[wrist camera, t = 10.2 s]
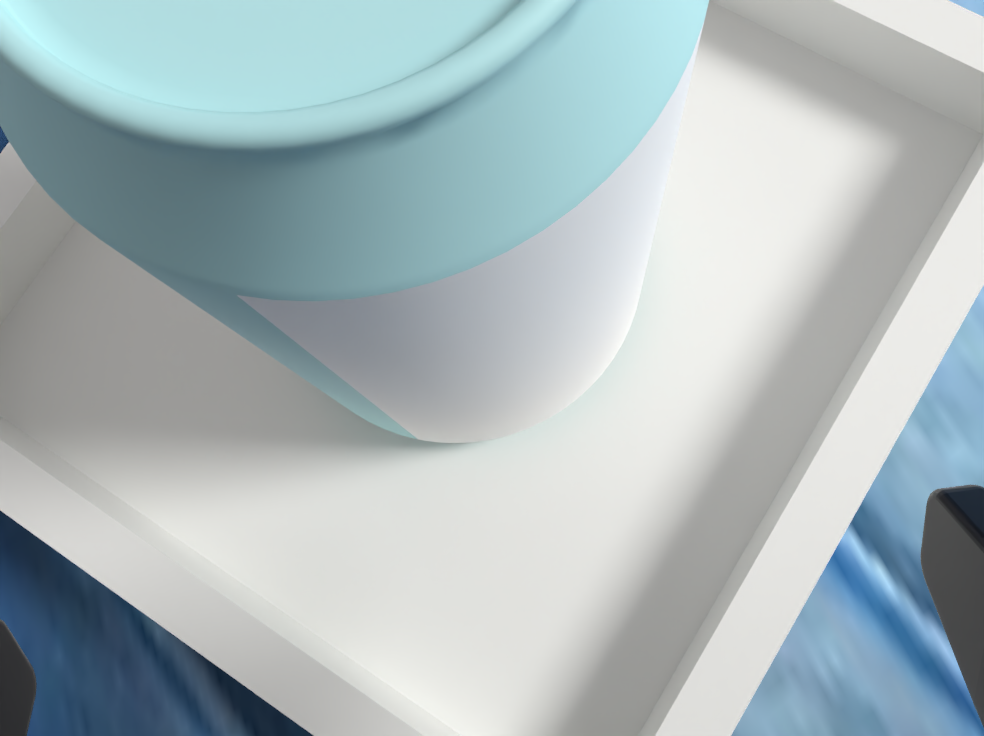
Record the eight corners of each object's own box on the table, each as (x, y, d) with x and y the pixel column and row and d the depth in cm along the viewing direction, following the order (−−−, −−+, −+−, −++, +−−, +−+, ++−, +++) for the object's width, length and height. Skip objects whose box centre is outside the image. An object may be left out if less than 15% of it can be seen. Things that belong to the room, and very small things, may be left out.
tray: (605, 894, 17) (610, 949, 14) (-83, 408, 20) (-174, 385, 18) (1035, 136, 19) (1102, 72, 17) (356, -193, 22) (330, -287, 20)
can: (385, 62, 20) (108, -667, 8) (696, 185, 19) (902, -460, 7) (230, 358, 19) (-351, 13, 7) (549, 508, 18) (495, 395, 6)
